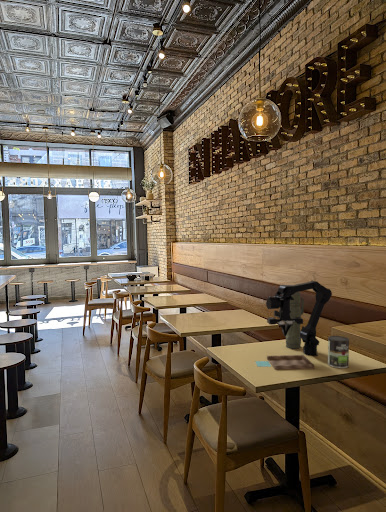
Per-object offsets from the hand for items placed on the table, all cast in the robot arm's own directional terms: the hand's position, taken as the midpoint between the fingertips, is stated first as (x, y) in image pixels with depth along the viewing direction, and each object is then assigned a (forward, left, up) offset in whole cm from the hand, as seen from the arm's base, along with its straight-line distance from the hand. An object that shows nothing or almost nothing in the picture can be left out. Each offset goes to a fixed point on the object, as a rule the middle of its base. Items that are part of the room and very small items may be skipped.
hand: (284, 336), depth 208 cm
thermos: (-11, -19, -12) cm, 25 cm away
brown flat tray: (+1, +12, -12) cm, 17 cm away
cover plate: (+15, +11, -13) cm, 23 cm away
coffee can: (-24, +14, -12) cm, 30 cm away
